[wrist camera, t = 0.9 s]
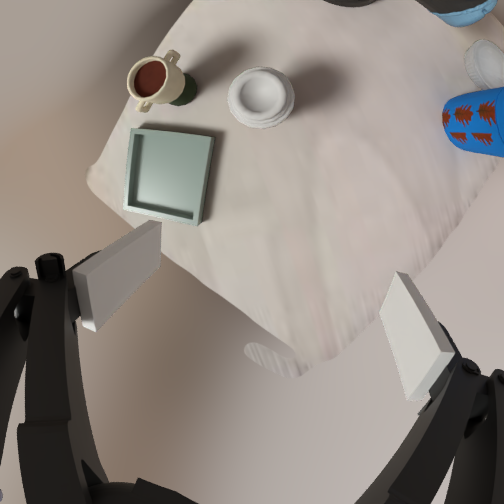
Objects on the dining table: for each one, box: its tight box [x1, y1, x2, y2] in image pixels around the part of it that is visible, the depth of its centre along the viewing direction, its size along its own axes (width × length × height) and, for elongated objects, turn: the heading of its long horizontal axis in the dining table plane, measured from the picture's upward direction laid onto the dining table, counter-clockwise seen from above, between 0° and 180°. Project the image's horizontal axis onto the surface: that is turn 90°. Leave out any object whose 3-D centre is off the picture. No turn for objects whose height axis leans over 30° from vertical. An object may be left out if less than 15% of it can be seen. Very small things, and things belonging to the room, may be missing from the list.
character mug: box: [127, 50, 197, 113], centre depth 38 cm, size 11×7×13 cm, turn 148°
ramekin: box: [464, 39, 504, 90], centre depth 29 cm, size 11×11×5 cm
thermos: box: [442, 87, 504, 157], centre depth 25 cm, size 11×11×25 cm
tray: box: [123, 128, 215, 226], centre depth 49 cm, size 16×16×2 cm
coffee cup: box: [227, 67, 295, 129], centre depth 37 cm, size 9×9×12 cm
